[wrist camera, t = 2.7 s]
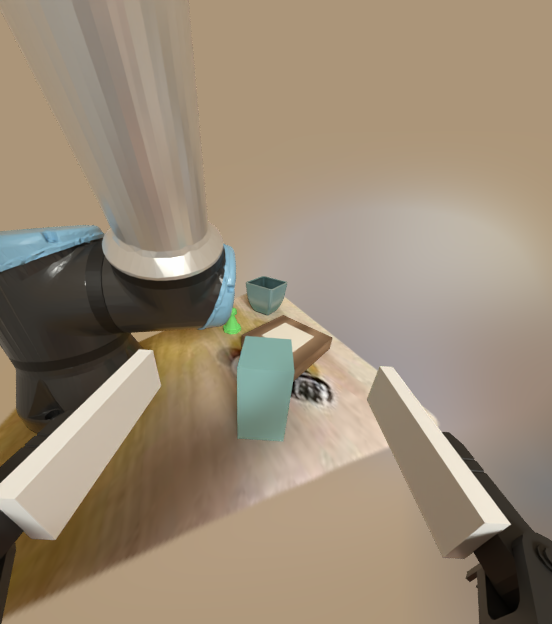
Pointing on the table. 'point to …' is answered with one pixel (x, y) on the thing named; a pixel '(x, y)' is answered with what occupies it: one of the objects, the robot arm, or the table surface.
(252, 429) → the teal pillar block
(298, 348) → the walnut base
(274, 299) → the flower pot
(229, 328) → the game piece
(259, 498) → the table surface
